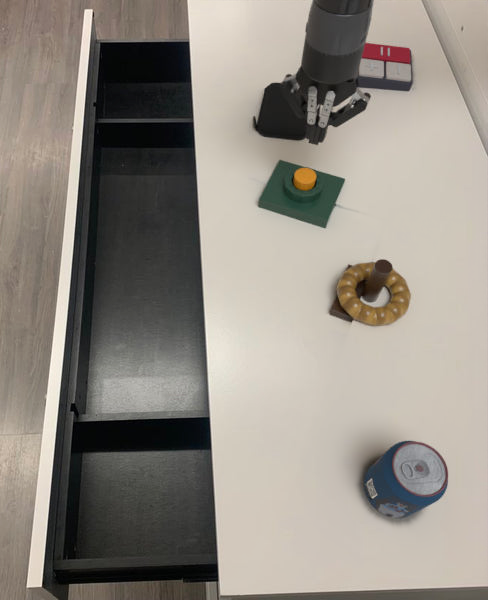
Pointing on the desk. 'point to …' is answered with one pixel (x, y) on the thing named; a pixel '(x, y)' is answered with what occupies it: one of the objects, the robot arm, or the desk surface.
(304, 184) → the button
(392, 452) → the soda can
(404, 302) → the ring
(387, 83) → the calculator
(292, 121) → the carrying case
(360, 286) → the stand
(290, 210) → the green push button box
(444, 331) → the desk surface
